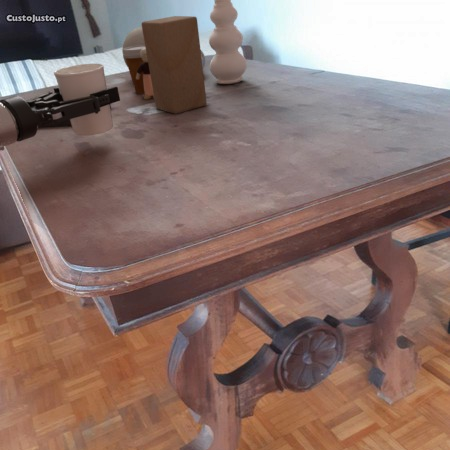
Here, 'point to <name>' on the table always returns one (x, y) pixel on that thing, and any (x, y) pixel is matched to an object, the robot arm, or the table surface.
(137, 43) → the decorative sphere
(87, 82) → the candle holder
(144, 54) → the grandmother figurine
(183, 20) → the wooden block
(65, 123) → the black tray
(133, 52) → the disposable coffee cup
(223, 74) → the vase
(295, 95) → the table surface
